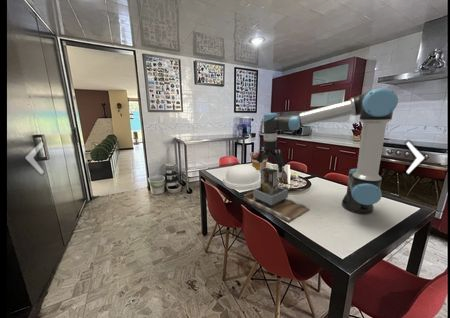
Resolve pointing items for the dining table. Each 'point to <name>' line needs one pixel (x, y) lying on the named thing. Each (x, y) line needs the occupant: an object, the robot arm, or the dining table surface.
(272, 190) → the coffee box
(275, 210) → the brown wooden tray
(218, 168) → the dining table surface
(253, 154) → the bucket of meat
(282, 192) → the grey open tray
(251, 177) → the dome cover
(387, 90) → the robot arm
